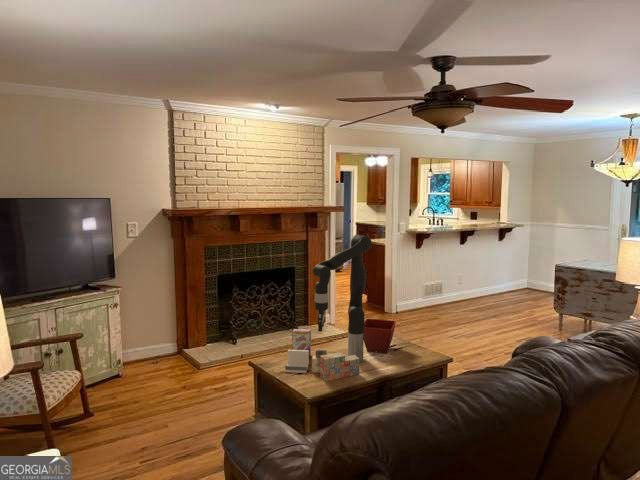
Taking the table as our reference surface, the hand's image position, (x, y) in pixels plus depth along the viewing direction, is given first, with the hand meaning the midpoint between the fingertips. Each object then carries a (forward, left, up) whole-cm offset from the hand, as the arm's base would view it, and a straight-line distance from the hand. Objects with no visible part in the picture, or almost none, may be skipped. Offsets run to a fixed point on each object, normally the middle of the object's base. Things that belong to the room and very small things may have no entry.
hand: (321, 329), depth 259 cm
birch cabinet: (0, 0, -24) cm, 24 cm away
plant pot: (-33, -38, -25) cm, 56 cm away
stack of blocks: (-11, +6, -25) cm, 28 cm away
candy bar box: (+14, -21, -25) cm, 35 cm away
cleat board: (+14, -2, -24) cm, 28 cm away
